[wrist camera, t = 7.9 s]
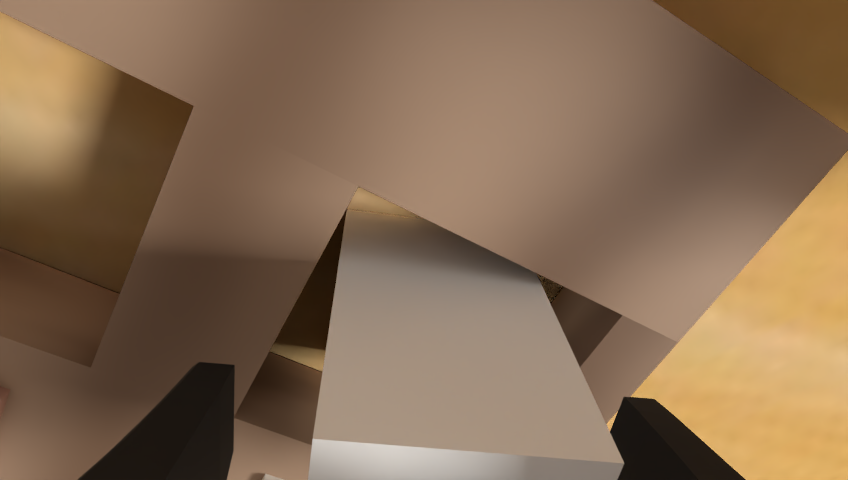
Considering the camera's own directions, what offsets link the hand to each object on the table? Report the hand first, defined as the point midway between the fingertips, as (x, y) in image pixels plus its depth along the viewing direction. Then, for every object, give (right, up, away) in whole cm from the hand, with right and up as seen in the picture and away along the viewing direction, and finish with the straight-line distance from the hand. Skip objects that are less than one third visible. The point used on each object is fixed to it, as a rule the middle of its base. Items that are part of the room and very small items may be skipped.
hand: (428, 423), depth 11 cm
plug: (0, +2, +4) cm, 4 cm away
